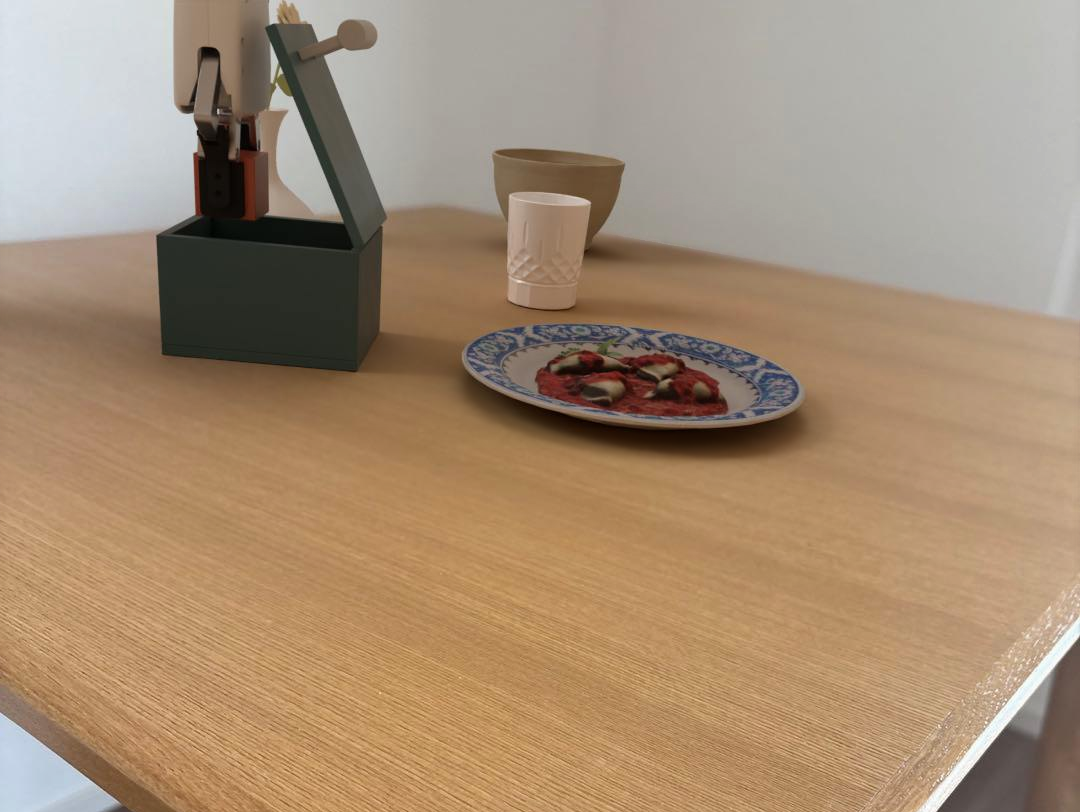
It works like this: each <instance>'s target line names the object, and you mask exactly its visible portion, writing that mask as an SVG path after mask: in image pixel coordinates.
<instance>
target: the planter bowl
mask: <svg viewBox="0 0 1080 812" xmlns="http://www.w3.org/2000/svg"><path fill="white" fill-rule="evenodd" d="M491 153H492V154H491V155H492V163H493V183H494V191H495V194H496V198H497V202H498V205H499V208H500V210H501V212H502V215H503V217H504V219H505V221H506V223H507V224H508V213H509V195H510V194H512V193H516V192H543V193H554V194H562V195H569V196H574V197H579V198H583V199H586V200H588V201H590V202H591V207H590V214H589V221H588V228H587V235H586V242H585V248H584V251H587V250H590V248H591V246H592V241H593V239H594V237H595V236H596V235H597V234H598V232H600V230H601V229H602V228H603V227H604V225H605V224H606V222H607V220H608V219H609V217H610V215H611V214H612V211H613V209H614V207H615V205H616V202H617V199H618V197H619V193H620V189H621V184H622V176H623V175H624V171H625V168H626V161H625V160H624V159H620V158H617V157H613V156H608V155H603V154H596V153H590V152H581V151H574V150H564V149H563V150H562V149H549V148H530V147H529V148H528V147H512V148H511V147H510V148H509V147H508V148H500V149H495V150H493V151H492V152H491Z"/></svg>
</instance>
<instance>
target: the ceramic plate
mask: <svg viewBox="0 0 1080 812" xmlns="http://www.w3.org/2000/svg"><path fill="white" fill-rule="evenodd" d="M461 360H462V364H463V367H464V369H465V370H467V372H468V373H469V374H470V375H471V376H472V377H473V378H475V379H476V380H477V381H479V382H480V383H482V384H483V385H485V386H487V387H488V388H489V389H492V390H494V391H496V392H498V393H500V394H503V395H504V396H508V397H510V398H511V399H515V400H518V401H520V402H523V403H526V404H529V405H533V406H534V407H538V408H541V409H545V410H550V411H554V412H557V413H560V414H563V415H565V416H569V417H570V418H571V417H572V418H575V419H580V420H583V421H588V422H592V423H593V422H594V423H597V424H601V425H602V424H603V425H607V426H613V427H621V428H631V429H639V430H640V429H641V430H647V431H648V430H650V431H655V430H656V431H657V430H659V431H660V430H662V431H663V430H664V431H665V430H666V431H669V430H671V431H672V430H691V429H692V430H693V429H716V428H717V429H718V428H731V427H743V426H750V425H754V424H755V425H756V424H759V423H764V422H767V421H772V420H777V419H780V418H782V417H785V416H787V415H789V414H790V413H792V412H794V411H796V410H797V409H798V408H799V407H800V406H802V404H803V403H804V401H805V398H806V394H807V393H806V388H805V386H804V384H803V383H802V381H801V380H800V379H799V378H798V376H796V375H795V374H794V373H793V372H792V371H791V370H789V369H788V368H786V367H784V366H782V365H781V364H779V363H776V362H774V361H773V360H771V359H769V358H767V357H764V356H762V355H759V354H757V353H754V352H752V351H748V350H746V349H743V348H740V347H737V346H733V345H731V344H728V343H724V342H720V341H716V340H712V339H707V338H703V337H698V336H693V335H689V334H685V333H679V332H674V331H666V330H660V329H655V328H654V329H653V328H647V327H639V326H630V325H621V324H607V323H606V324H604V323H541V324H540V323H539V324H530V325H529V324H528V325H522V326H515V327H506V328H503V329H498V330H495V331H492V332H489V333H486V334H484V335H480V336H478V337H476V338H474V339H473V340H471V341H470V342H468V343H467V344H466V345H465V347H464V348H463V350H462V352H461Z"/></svg>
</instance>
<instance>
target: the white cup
mask: <svg viewBox="0 0 1080 812" xmlns="http://www.w3.org/2000/svg"><path fill="white" fill-rule="evenodd" d="M590 207H591V202H590V201H588V200H586V199H583V198H579V197H574V196H569V195H562V194H554V193H543V192H516V193H512V194H510V195H509V213H508V223H507V241H506V242H507V252H506V253H507V255H506V257H507V260H506V261H507V262H506V263H507V264H506V271H507V274H508V275H507V294H506V295H507V299H508V301H509V302H510V303H512V304H514V305H516V306H520V307H524V308H525V307H526V308H529V309H535V310H543V311H544V310H548V311H549V310H550V311H553V310H554V311H555V310H558V311H559V310H567V309H570V308H572V307H574V306H575V305H576V300H577V293H578V284H579V282H578V281H579V278H580V276H581V272H582V265H583V260H584V255H585V250H584V248H585V242H586V235H587V228H588V221H589V214H590Z"/></svg>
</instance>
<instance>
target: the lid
mask: <svg viewBox="0 0 1080 812" xmlns="http://www.w3.org/2000/svg"><path fill="white" fill-rule="evenodd" d="M265 30H266V32H267V35H268V37H269V40H270V46H271V47H272V49H273V51H274V52H273V53H274V54H275V57H276V59H277V63H278V62H279V64H280V70H281V71H282V74H284V77H285V79H286V81H287V84H288V86H289V89H290V91H291V94H292V99H293V101H294V104H295V106H296V108H297V112H298V113H299V116H300V118H301V121H302V124H303V126H304V128H305V130H306V133H307V136H308V138H309V140H310V143H311V145H312V148H313V150H314V153H315V155H316V157H317V160H318V163H319V165H320V167H321V170H322V172H323V175H324V178H325V180H326V182H327V185H328V188H329V190H330V192H331V195H332V197H333V199H334V202H335V204H336V207H337V209H338V211H339V214H340V217H341V219H342V222H344V224H345V226H346V229H347V231H348V234H349V236H350V239H351V241H352V244H353V246H354V248H358V247H361V246H364V245H365V244H366V242H367V241H368V240H369V239H370V238H371V237H372V235H373V234H374V233H375V232H376V231H377V230H378V228H379V227H380V226H383V224H384V223H385V222H386V221H387V219H388V216H387V214H386V211H385V208H384V206H383V204H382V200H381V198H380V196H379V194H378V191H377V188H376V186H375V182H374V181H373V178H372V175H371V172H370V171H369V167H368V165H367V163H366V160H365V157H364V154H363V152H362V150H361V148H360V145H359V141H358V139H357V137H356V134H355V131H354V129H353V127H352V124H351V121H350V119H349V116H348V114H347V111H346V109H345V106H344V104H343V101H342V99H341V96H340V93H339V91H338V88H337V86H336V83H335V79H334V78H333V76H332V73H331V70H330V68H329V65H328V63H327V60H326V58H325V56H327V55H331V54H332V53H335V52H337V51H340V50H342V49H345V50H347V51H350V52H354V51H363V50H364V51H365V50H369V49H372V48H373V47H374V46H375V45H376V43H377V41H378V31H377V28H376V26H375V25H374V23H372V22H371V21H369V20H366V19H356V18H355V19H352V18H351V19H350V18H349V19H346V20H343V21H341V23H340V24H339V25H338V28H337V31H336V35H333V36H330V37H327V38H326V39H322V40H320V41H319V40H318V36H317V34H316V32H315V30H314V28H313V24H311V23H308V24H284V23H279V22H278V23H276V22H275V23H274V22H273V23H271V24H270V25H268V26H266V27H265Z"/></svg>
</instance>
